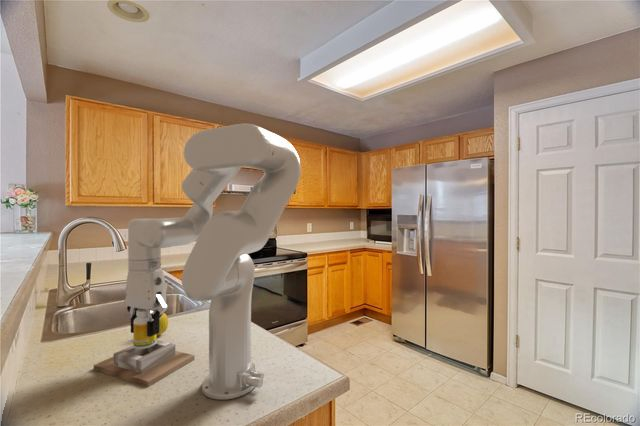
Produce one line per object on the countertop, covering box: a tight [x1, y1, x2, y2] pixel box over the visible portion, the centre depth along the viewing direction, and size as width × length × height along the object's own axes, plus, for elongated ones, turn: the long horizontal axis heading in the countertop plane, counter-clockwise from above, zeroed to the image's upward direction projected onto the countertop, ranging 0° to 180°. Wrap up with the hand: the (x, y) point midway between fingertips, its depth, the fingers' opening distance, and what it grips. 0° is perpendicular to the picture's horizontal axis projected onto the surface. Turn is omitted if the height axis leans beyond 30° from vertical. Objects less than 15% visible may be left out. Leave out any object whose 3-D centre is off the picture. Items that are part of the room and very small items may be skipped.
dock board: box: [93, 339, 195, 387], centre depth 82 cm, size 20×14×4 cm
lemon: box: [157, 312, 169, 337], centre depth 101 cm, size 6×6×8 cm
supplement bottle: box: [133, 308, 158, 349], centre depth 82 cm, size 5×5×10 cm
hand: (145, 332), depth 82 cm, fingers closed on supplement bottle, 5 cm apart
